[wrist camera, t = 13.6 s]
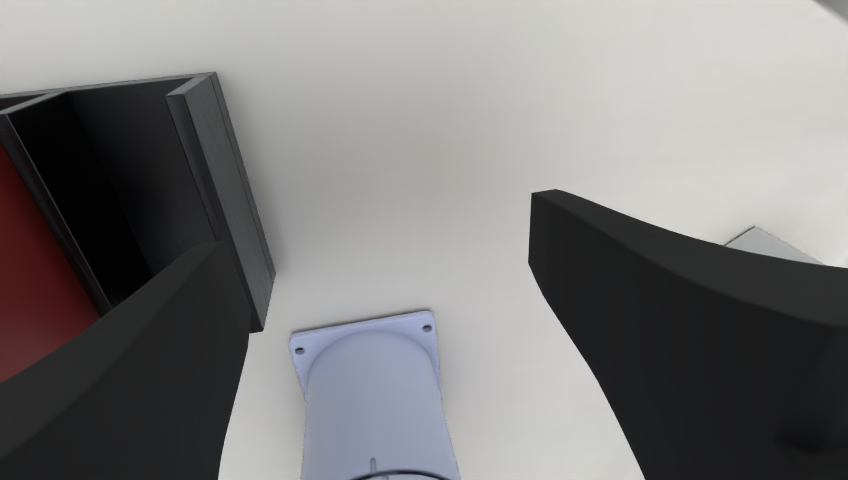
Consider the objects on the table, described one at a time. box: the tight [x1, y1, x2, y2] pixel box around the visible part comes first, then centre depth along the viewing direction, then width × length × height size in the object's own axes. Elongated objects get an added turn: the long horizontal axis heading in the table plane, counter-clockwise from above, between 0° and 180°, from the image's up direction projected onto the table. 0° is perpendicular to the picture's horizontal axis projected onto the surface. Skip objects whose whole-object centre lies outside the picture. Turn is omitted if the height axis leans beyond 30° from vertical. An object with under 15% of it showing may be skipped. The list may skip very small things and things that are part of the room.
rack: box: [0, 72, 276, 333], centre depth 17 cm, size 10×16×4 cm, turn 95°
